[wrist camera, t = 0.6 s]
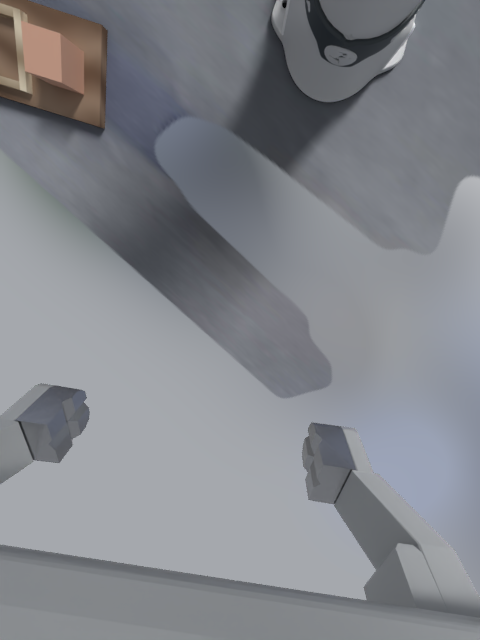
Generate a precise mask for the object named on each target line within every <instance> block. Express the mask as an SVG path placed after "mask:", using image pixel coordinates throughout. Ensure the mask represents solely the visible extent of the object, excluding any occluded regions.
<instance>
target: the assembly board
mask: <svg viewBox="0 0 480 640" xmlns="http://www.w3.org/2000/svg"><path fill="white" fill-rule="evenodd" d="M21 21H23V22H26V23H30V24H33V25H36V26H39V27H42V28H45V29H48V30H51V31H54V32H57V33H60V34H62V35H63V36H64V37H65V38H67V39H68V40H69V41H71V42H72V43H73V44H74V45H76V46H77V47H78V48H79V49H81V50H82V51H83V52H84V95H83V94H80V93H77V92H74V91H70V90H67V89H64V88H61V87H58V86H54V85H51V84H49V83H47V82H45V81H43V80H41V79H40V78H38V77H36V76H34V75H32V74H30V73H28V72H26V71H25V65H24V53H23V40H22V28H21ZM106 65H107V30H106V29H105V28H104V27H103V26H102V25H101V24H98V23H95V22H91V21H88V20H85V19H82V18H79V17H76V16H73V15H70V14H67V13H64V12H61V11H58V10H55V9H52V8H49V7H46V6H43V5H40V4H37V3H34V2H31V1H28V0H0V97H3V98H7V99H10V100H13V101H16V102H19V103H23V104H26V105H29V106H32V107H36V108H39V109H42V110H45V111H49V112H52V113H55V114H58V115H62V116H65V117H68V118H71V119H75V120H78V121H81V122H84V123H88V124H91V125H94V126H97V127H100V128H104V129H105V101H106Z"/></svg>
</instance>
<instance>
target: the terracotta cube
mask: <svg viewBox="0 0 480 640" xmlns="http://www.w3.org/2000/svg"><path fill="white" fill-rule="evenodd" d="M21 28H22V40H23V53H24V65H25V71H26V72H28V73H30V74H32V75H34V76H36V77H38V78H40V79H41V80H43V81H45V82H47V83H49V84H51V85H54V86H58V87H61V88H64V89H67V90H70V91H74V92H77V93H80V94H83V95H84V52H83V51H82V50H81V49H79V48H78V47H77V46H76V45H74V44H73V43H72V42H71V41H69V40H68V39H67V38H65V37H64V36H63V35H62V34H60V33H57V32H54V31H51V30H48V29H45V28H42V27H39V26H36V25H33V24H30V23H26V22H23V21H21Z"/></svg>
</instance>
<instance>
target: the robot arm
mask: <svg viewBox="0 0 480 640" xmlns="http://www.w3.org/2000/svg"><path fill="white" fill-rule="evenodd" d="M424 1H425V0H276V3H275V6H274V8H273V12H272V17H271V21H272V25H273V28H274V30H275V32H276V34H277V35H278V37H279V38H280V40H281V42H282V44H283V47H284V51H285V57H286V62H287V66H288V69H289V72H290V74H291V76H292V78H293V80H294V82H295V83H296V85H297V86H298V87H299V89H300V90H301V91H302V92H304V93H305V94H306V95H307V96H309V97H311V98H313V99H315V100H318V101H322V102H336V101H340V100H343V99H346V98H348V97H350V96H352V95H354V94H355V93H357V92H358V91H359V90H361V89H362V88H363V87H364V86H365V85H366V84H367V83H368V82H369V81H370V80H371V79H373V78H374V77H375V76H376V75H378V74H381V73H383V72H385V71H388V70H390V69H392V68H393V67H395V66H396V65H397V64H398V63H399V61H400V60H401V59H402V57H403V54H404V51H405V47H406V43H407V39H408V37H409V36H410V35H411V33H412V32H413V30H414V28H415V23H414V20H415V17H416V14H417V12H418V11H419V9H420V8H421V6H422V4H423V3H424ZM284 2H286V3H287V6H286V8H283V7H282V4H283V3H284ZM86 398H87V397H86V394H85V391H83V390H79V389H73V388H67V387H61V386H54V385H48V384H38V385H36V386H34V387H33V388H32V389H31V390H30V391H28V392H27V393H26V394H25V395H24V396H23V397H22V398H20V399H19V400H18V401H17V402H16V403H15V404H14V405H12V406H11V407H10V408H9V409H8V410H7V411H5V412H4V413H3V414H2V415H1V416H0V484H1V483H3V482H4V481H6V480H7V479H9V478H10V477H12V476H13V475H15V474H16V473H18V472H19V471H20V470H22V469H23V468H25V467H26V466H28V465H29V464H31V463H32V462H33V460H37V461H46V462H55V463H60V461H61V460H62V459H63V457H64V456H65V455H66V453H67V452H68V451H69V449H70V448H71V447H72V439H73V438H75V437H76V436H78V435H80V434H81V433H82V431H83V430H84V429H85V427H86V425H87V422H88V420H89V407H88V406H87V405H86V404H85V403H84V401H85V400H86ZM308 433H309V436H308V437H306V438H305V440H304V444H303V452H302V458H303V466H304V468H305V469H306V470H307V472H308V474H307V477H306V486H307V493H308V498H309V500H313V501H318V502H324V503H329V504H335V505H334V506H335V508H336V509H337V511H338V512H339V514H340V516H341V517H342V519H343V520H344V522H345V523H346V525H347V526H348V528H349V529H350V531H351V532H352V533H353V535H354V537H355V538H356V540H357V541H358V543H359V545H360V546H361V548H362V549H363V551H364V552H365V554H366V555H367V557H368V558H369V560H370V561H371V563H372V564H373V566H374V567H375V569H376V572H375V573H374V574H373V575H372V577H371V578H370V579H369V581H368V582H367V583H366V585H365V586H364V590H365V594H366V598H367V601H366V600H360V599H353V598H347V597H340V596H333V595H327V594H320V593H313V592H307V591H300V590H294V589H288V588H281V587H275V586H268V585H262V584H255V583H247V582H242V581H234V580H229V579H222V578H215V577H208V576H202V575H196V574H189V573H183V572H176V571H170V570H163V569H157V568H150V567H143V566H137V565H131V564H124V563H117V562H111V561H104V560H98V559H91V558H85V557H78V556H72V555H64V554H58V553H52V552H45V551H39V550H32V549H25V548H19V547H12V546H6V545H0V640H480V597H479V595H478V594H477V592H476V590H475V588H474V586H473V584H472V582H471V581H470V579H469V577H468V575H467V573H466V571H465V569H464V567H463V565H462V564H461V562H460V560H459V558H458V556H457V554H456V552H455V550H454V549H453V548H452V547H451V546H450V545H449V544H448V543H447V542H446V541H445V540H444V539H443V538H442V537H441V536H440V535H439V534H438V533H437V532H436V531H435V530H434V529H433V528H432V527H431V526H430V525H429V524H428V523H427V522H426V521H425V520H424V519H423V518H422V517H421V516H420V515H419V514H418V513H417V512H416V511H415V510H414V509H413V508H412V507H411V506H410V505H409V504H408V503H407V502H406V501H405V500H404V499H403V498H402V497H401V496H400V495H399V494H398V493H397V492H396V491H395V490H394V489H393V488H392V487H391V486H390V485H389V484H388V483H387V482H386V481H385V480H384V479H383V478H382V477H381V476H380V475H379V474H376V473H374V472H373V470H372V467H371V464H370V462H369V460H368V457H367V454H366V452H365V450H364V447H363V444H362V442H361V439H360V437H359V435H358V432H357V430H356V429H355V428H349V427H341V426H340V427H339V426H334V425H327V424H319V423H311V424H310V426H309V428H308Z"/></svg>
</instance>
